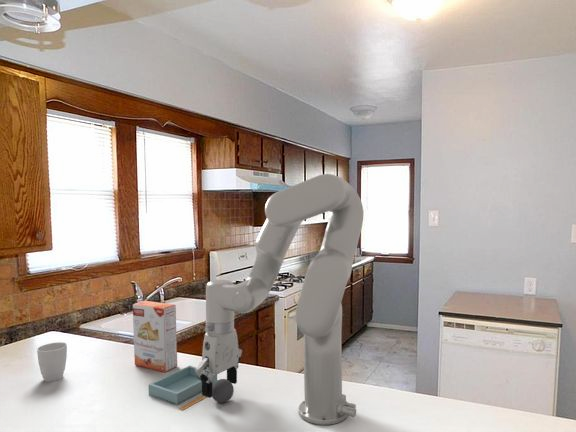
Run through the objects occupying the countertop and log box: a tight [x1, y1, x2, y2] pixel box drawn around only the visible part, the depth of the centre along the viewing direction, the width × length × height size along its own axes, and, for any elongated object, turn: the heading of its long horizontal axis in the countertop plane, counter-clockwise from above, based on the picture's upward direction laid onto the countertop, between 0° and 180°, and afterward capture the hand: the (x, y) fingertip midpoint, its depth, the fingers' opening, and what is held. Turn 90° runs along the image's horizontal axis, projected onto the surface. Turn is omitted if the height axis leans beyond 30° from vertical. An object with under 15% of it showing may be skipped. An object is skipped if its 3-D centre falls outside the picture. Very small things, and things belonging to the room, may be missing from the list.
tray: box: [147, 365, 218, 411], centre depth 120 cm, size 15×18×3 cm
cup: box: [36, 341, 68, 383], centre depth 130 cm, size 8×8×10 cm
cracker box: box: [132, 300, 178, 373], centre depth 138 cm, size 14×6×21 cm, turn 62°
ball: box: [211, 378, 235, 404], centre depth 113 cm, size 6×6×6 cm
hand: (219, 389), depth 113 cm, fingers open, 9 cm apart
